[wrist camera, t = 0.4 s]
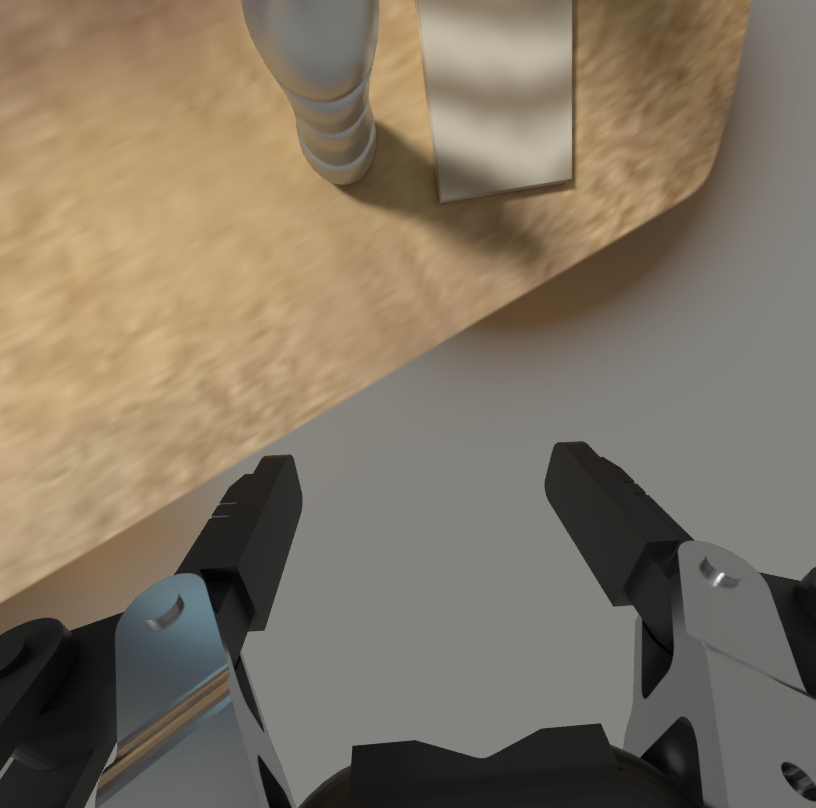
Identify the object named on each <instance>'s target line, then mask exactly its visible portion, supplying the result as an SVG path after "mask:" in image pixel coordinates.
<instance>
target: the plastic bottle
mask: <svg viewBox="0 0 816 808" xmlns="http://www.w3.org/2000/svg"><path fill="white" fill-rule="evenodd" d="M241 4H242V9H243V13H244V18H245V22H246V25H247V28H248V30H249V33H250V36H251V39H252V40H253V42H254V44H255V46H256V48H257V50H258V52H259V53H260V55H261V57H262V59H263V61H264V63H265V64H266V66H267V68H268V69H269V70H270V72H271V73H272V75H273V76H274V78H275V79H276V81H277V82H278V84H279V85H280V87H281V88H282V89H283V91H284V92H285V94H286V96H287V98H288V100H289V102H290V104H291V106H292V108H293V110H294V114H295V118H296V127H297V132H298V138H299V143H300V147H301V149H302V152H303V155H304V156H305V158H306V160H307V162H308V163H309V164H310V166H311V167H312V168H313V169H314V170H315V171H316V172H317V173H318V174H319V175H320V176H321V177H322V178H324V179H325V180H327V181H329V182H331V183H334V184H339V185H345V184H350V183H353V182H355V181H357V180H358V179H360V178H361V177H362V176H363V175H364V174H365V173H366V171H367V170H368V168H369V166H370V164H371V162H372V159H373V157H374V154H375V149H376V128H375V122H374V118H373V114H372V111H371V108H370V103H369V82H370V75H371V70H372V65H373V60H374V56H375V51H376V45H377V39H378V29H379V1H378V0H241Z"/></svg>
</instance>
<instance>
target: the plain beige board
mask: <svg viewBox="0 0 816 808" xmlns="http://www.w3.org/2000/svg"><path fill="white" fill-rule="evenodd" d="M415 5H416V14H417V22H418V31H419V39H420V47H421V56H422V64H423V72H424V81H425V89H426V97H427V106H428V114H429V123H430V131H431V139H432V148H433V156H434V164H435V173H436V181H437V189H438V198H439V204H441V203H447V202H454V201H460V200H466V199H472V198H478V197H484V196H490V195H496V194H502V193H508V192H514V191H520V190H526V189H532V188H539V187H545V186H551V185H557V184H563V183H566V182H567V181H569V180H571V179H572V0H415Z"/></svg>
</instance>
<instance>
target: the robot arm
mask: <svg viewBox="0 0 816 808" xmlns="http://www.w3.org/2000/svg"><path fill="white" fill-rule="evenodd" d="M545 492H546V496H547V498H548V501H549V502H550V504H551V506H552V507H553V509H554V510H555V512H556V514H557V515H558V517H559V519H560V520H561V522H562V524H563V525H564V527H565V528H566V530H567V532H568V533H569V535H570V537H571V538H572V540H573V541H574V543H575V544H576V546H577V548H578V549H579V551H580V553H581V555H582V556H583V557H584V559H585V561H586V562H587V564H588V566H589V567H590V569H591V571H592V572H593V574H594V576H595V577H596V579H597V580H598V582H599V584H600V585H601V587H602V589H603V590H604V592H605V594H606V595H607V597H608V598H609V600H610V602H611V603H612V605H613V606H614V607H615V606H627V605H633V606H634V608H635V609H636V610H637V612H638V613H639V615H638V616H637V618H636V621H635V648H634V686H633V705H632V711H631V715H630V718H629V721H628V724H627V729H626V732H625V738H624V746H623V750H622V749H620V748H618V747H615V746H613V745H610V744H609V741H608V739H607V737H606V734H605V732H604V730H603V728H602V725H601V724H600V723H599V724H588V725H578V726H567V727H555V728H545V729H540V730H538V731H536V732H535V733H533V734H531V735H529V736H527V737H525V738H523V739H522V740H520V741H518V742H516V743H514V744H512V745H510V746H508V747H506V748H505V749H503V750H501V751H499V752H497V753H495V754H493V755H491V756H489V757H487V758H475V757H472V756H468V755H465V754H462V753H458V752H454V751H451V750H447V749H444V748H440V747H437V746H433V745H430V744H427V743H423V742H419V741H416V740H412V741H401V742H391V743H380V744H369V745H358V746H353V747H352V762H351V765H350V766H348V767H346V768H344V769H342V770H340V771H339V772H337V773H336V774H334V775H333V776H332V777H330V778H329V779H327V780H326V781H324V782H323V783H322V784H321V785H320V786H319V787H318V788H317V789H316V790H314V791H313V792H312V793H311V794H310V795H309V796H308V797H307V798H306V799H305V801H304V802H303V803H302V804H301V805H300V806H299V807H298V808H816V567H815V568H813V569H812V570H811V571H810V572H809V573H808V574H807V575H806V576H805V577H804V578H803V579H802V580H801V581H798V580H793V579H788V578H783V577H778V576H773V575H769V574H764V573H760V572H758V571H757V570H755V569H754V568H753V567H752V566H751V565H750V564H748V563H747V562H746V561H745V560H743V559H742V558H740V557H739V556H737V555H735V554H734V553H732V552H730V551H728V550H726V549H724V548H722V547H719V546H717V545H714V544H711V543H707V542H702V541H695V540H694V539H692V537H691V536H689V534H688V533H686V532H685V531H684V530H683V529H682V528H681V527H680V526H679V525H678V524H677V523H676V522H675V521H674V520H673V519H672V518H671V517H670V516H669V515H668V514H667V513H666V512H665V511H664V510H663V509H662V508H661V507H660V506H659V505H658V504H657V503H656V502H655V501H654V500H653V499H652V498H651V497H650V496H649V495H646V494H645V491H644V490H643V489H642V488H641V487H640V486H639V485H638V484H635V483H634V480H633V479H632V478H631V477H629V475H628V474H627V473H625V471H624V470H623V469H621V468H620V467H619V466H617V465H615V464H614V463H612V462H610V461H609V460H607V459H605V458H604V457H599V456H598V455H597V454H596V453H595V452H594V450H592V448H590V446H589V445H588V444H587V443H585V442H583V441H580V442H558V443H556V444H555V445H554V447H553V451H552V455H551V459H550V463H549V466H548V470H547V474H546V478H545ZM301 511H302V491H301V488H300V483H299V479H298V475H297V470H296V466H295V462H294V459H293V456H292V455H272V456H264V457H263V458H262V459H261V461H260V462H259V464H258V466H257V468H256V469H255V471H254V473H253V474H245V475H244V476H242V477H241V478H240V479H239V480H237V481H236V482H235V483H234V484H233V485H232V486H231V487H229V489H228V490H227V492H226V494H225V495H224V497H223V498H222V500H221V501H220V505H219V506H217V508H216V509H215V511H214V513H213V514H212V518H211V519H209V520H208V522H207V524H206V525H205V527H204V529H203V530H202V532H201V533H200V535H199V536H198V538H197V540H196V541H195V543H194V544H193V546H192V547H191V549H190V551H189V552H188V554H187V555H186V557H185V559H184V560H183V562H182V563H181V565H180V567H179V568H178V570H177V571H176V573H175V574H174V575H173V576H170V577H167V578H165V579H163V580H161V581H159V582H157V583H155V584H154V585H152V586H151V587H149V588H148V589H146V590H145V591H144V592H142V593H141V594H140V595H139V596H138V597H137V598H136V599H135V600H134V601H133V602H132V603H131V604H130V605H129V606H128V607H127V609H126V610H125V611H124V612H122V613H120V614H117V615H114V616H111V617H108V618H106V619H102V620H100V621H97V622H94V623H91V624H88V625H85V626H83V627H80V628H77V629H74V630H71V631H69V630H68V629H67V628H66V627H65V626H64V625H63V624H62V623H61V622H60V621H59V620H57V619H53V618H41V619H36V620H32V621H29V622H26V623H24V624H22V625H19V626H16V627H14V628H12V629H10V630H8V631H6V632H5V633H3V634H1V635H0V771H1V769H2V768H3V766H4V765H5V763H6V762H7V760H8V759H9V758H10V756H11V757H12V758H14V760H13V762H12V763H11V765H10V766H9V768H8V769H7V770H6V772H5V773H4V775H3V777H2V778H1V779H0V808H84V807H85V805H86V803H87V801H88V799H89V797H90V795H91V793H92V791H93V789H94V787H95V785H96V783H97V781H98V779H99V777H100V775H101V773H102V771H103V769H104V766H105V765H106V763H107V760H108V758H109V756H110V754H111V752H112V750H113V748H114V746H115V744H116V742H117V754H116V758H115V760H114V762H113V763H112V764H110V765H109V766H108V767H106V769H105V770H104V771H103V773H102V775H101V777H100V779H99V782H98V787H97V791H96V800H95V808H296V806H295V803H294V800H293V797H292V794H291V791H290V788H289V785H288V782H287V779H286V777H285V774H284V771H283V769H282V766H281V763H280V761H279V759H278V756H277V754H276V752H275V749H274V747H273V744H272V741H271V739H270V737H269V733H268V730H267V728H266V724H265V721H264V718H263V715H262V712H261V709H260V706H259V703H258V700H257V697H256V694H255V691H254V688H253V685H252V682H251V679H250V676H249V673H248V670H247V667H246V663H245V660H244V657H243V655H242V652H241V649H242V646H243V644H244V641H245V638H246V635H247V632H249V631H263V630H265V627H266V624H267V621H268V618H269V615H270V611H271V608H272V605H273V602H274V599H275V595H276V592H277V589H278V586H279V582H280V579H281V576H282V573H283V570H284V566H285V563H286V560H287V557H288V554H289V550H290V547H291V544H292V540H293V538H294V534H295V531H296V528H297V525H298V521H299V518H300V515H301Z"/></svg>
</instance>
